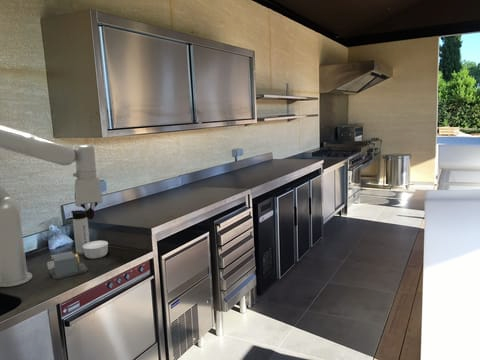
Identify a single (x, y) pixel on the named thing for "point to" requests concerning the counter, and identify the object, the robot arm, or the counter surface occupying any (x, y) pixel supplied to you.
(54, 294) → the counter surface
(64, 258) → the bearing housing
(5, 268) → the robot arm
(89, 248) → the ramekin
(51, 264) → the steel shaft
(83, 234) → the travel mug
